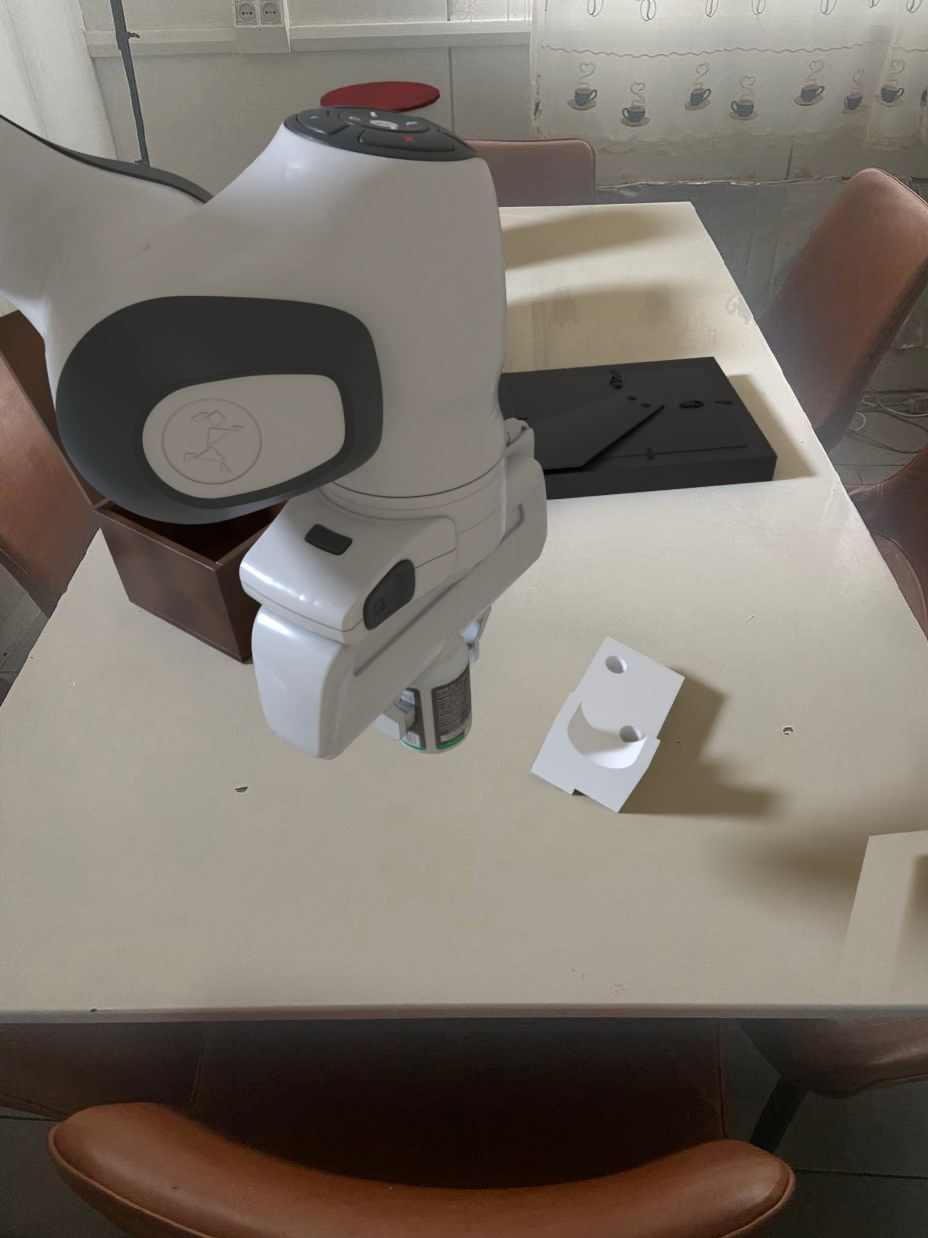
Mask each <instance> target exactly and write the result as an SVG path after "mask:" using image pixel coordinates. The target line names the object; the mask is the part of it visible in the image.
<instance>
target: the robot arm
mask: <svg viewBox="0 0 928 1238" xmlns="http://www.w3.org/2000/svg"><path fill="white" fill-rule="evenodd" d="M492 176H493V175H492V174H491V171H490V168H489V165H488V164H487V161H485V159H484V158H483V157H482V156H481V155H480V154H479V152H478V150H477V149H475V148H474V147H473V146H472V145H471V144H470V143H468V141H465V140H464V139H463V138H462V137H460V136H459V135H458V134H456V133H454V132H453V131H451V130H449V129H448V128H446V127H445V126H442V125H440V124H439V123H438V124H436V123H434V122H432V121H430V120H427V119H425V118H423V117H415V116H411V115H407V114H403V113H402V112H399V111H393V110H386V109H379V108H371V107H364V106H345V105H338V106H320V107H318V108H310V109H309V108H308V109H303V110H301V111H300V112H297V113H294V114H290V115H289V116H287V117H286V118H285V119H283V121H282V122H281V123H280V124H279V127H278V129H277V131H276V132H275V134H274V136H273V138H272V140H270V141H269V144H268V145H267V146H266V147H265V148H264V150H263V151H262V152H260V154H259V155H258V156H257V157H256V159H254V161H252V163H251V164H249V165H248V166H247V167H246V168H245V169H244V170H243V171H242V172H241V173H240V174H239V175H237V177H235V179H234V180H233V181H231V182H230V183H229V184H228V185H227V186H226V187H224V188H223V189H222V190H221V191H220V192H219V193H217V194H216V195H215V196H214V195H213V194H212V193H210V192H209V191H208V190H206V189H205V188H203V187H202V186H200V185H199V184H197V183H195V182H194V181H191V180H190V179H187V178H186V177H183V176H181V175H178V174H176V173H174V172H171V171H168V170H164V169H161V168H159V167H158V168H157V167H153V166H149V165H145V164H140V163H134V162H129V161H123V160H119V159H112V158H106V157H102V156H97V155H93V154H88V153H85V152H81V151H78V150H74V149H70V148H68V147H65V146H62V145H59V144H57V143H55V142H53V141H51V140H48V139H46V138H44V137H41V136H40V135H38V134H36V133H34V132H32V131H30V130H28V129H27V128H25V127H23V126H21V125H19V124H18V123H16V122H14V121H13V120H11V119H9V118H8V117H6V116H4V115H2V114H1V113H0V295H1V296H3V297H4V298H5V299H6V300H8V301H9V302H10V303H12V305H13V306H15V307H16V308H17V310H18V309H19V310H20V311H21V312H22V313H23V314H24V315H25V316H26V317H27V319H28V320H29V321H30V322H31V323H32V324H33V326H34V327H35V328H36V329H37V330H38V332H39V333H40V335H41V336H42V337H43V339H44V342H45V356H46V364H47V372H48V377H49V383H50V388H51V393H52V398H53V403H54V408H55V412H56V420H57V426H58V430H59V434H60V437H61V440H62V443H63V445H64V447H65V450H66V452H67V454H68V456H69V457H70V459H71V461H72V462H73V464H74V465H75V467H76V468H77V470H78V471H79V472H80V474H81V475H82V476H83V477H84V478H85V479H86V480H87V481H88V482H89V483H90V484H91V485H92V486H93V487H94V488H95V489H96V490H97V491H99V492H100V493H101V494H102V495H104V496H105V497H106V499H108V501H110V500H111V501H112V502H114V503H116V504H117V505H119V506H121V507H123V508H125V509H127V510H129V511H131V512H133V513H136V514H138V515H141V516H144V517H147V518H151V519H154V520H159V521H164V522H169V523H178V524H205V523H214V522H220V521H224V520H228V519H232V518H236V517H239V516H242V515H245V514H248V513H251V512H254V511H257V510H260V509H263V508H266V507H269V506H272V505H275V504H277V503H280V502H283V501H285V500H288V499H289V501H288V502H287V504H286V505H285V506H284V508H283V509H282V510H281V512H280V513H279V515H278V516H277V517H276V518H275V520H274V521H273V522H272V523H271V525H270V526H269V527H268V528H267V530H266V531H265V532H264V533H263V534H262V536H261V537H260V538H259V539H258V540H257V542H256V543H255V544H254V545H253V546H252V547H251V549H250V550H249V551H248V552H247V554H246V555H245V557H244V558H243V560H242V562H241V565H240V570H239V574H240V580H241V583H242V586H243V589H244V591H245V592H246V593H247V594H248V595H249V596H251V597H252V598H254V599H255V600H256V601H258V602H259V603H261V604H262V606H261V607H260V609H259V611H258V613H257V616H256V618H255V622H254V625H253V630H252V655H253V656H252V661H253V669H254V674H255V679H256V680H255V681H256V686H257V689H258V695H259V698H260V702H261V707H262V711H263V714H264V717H265V720H266V723H267V725H268V726H269V728H270V730H271V731H272V732H273V733H274V734H275V735H276V736H277V737H278V738H279V739H281V740H282V741H283V742H285V743H287V744H288V745H290V746H291V747H293V748H295V749H296V750H297V751H300V752H302V753H303V754H305V755H307V756H310V757H312V758H315V759H319V760H323V761H333V760H335V759H337V758H338V757H339V756H341V755H342V753H344V751H346V750H347V748H349V746H350V745H351V744H352V743H353V742H354V741H356V739H358V738H359V737H360V736H361V735H362V733H364V732H365V731H366V730H367V728H369V727H370V726H371V725H372V724H373V723H374V722H375V726H376V729H378V730H379V731H380V732H381V733H382V734H383V735H386V736H388V737H389V738H391V739H393V740H394V741H399V742H400V740H401V739H402V738H403V737H404V735H405V734H406V733H407V732H408V731H409V730H410V729H411V728H412V727H413V726H414V725H415V724H416V723H417V720H416V718H415V715H416V710H415V705H413V704H411V703H410V702H408V701H405V700H400V699H401V697H402V695H401V694H402V693H403V692H404V691H405V690H406V689H407V688H408V687H409V686H410V685H411V684H412V683H413V682H414V681H415V680H416V679H417V678H418V677H419V676H420V675H421V674H422V673H423V672H424V671H425V670H426V669H427V668H428V667H429V666H430V665H431V664H432V663H433V662H434V661H435V660H436V659H437V658H438V657H439V656H440V655H441V652H442V650H443V648H444V644H445V642H446V641H447V639H448V638H449V637H450V636H451V635H452V634H453V633H454V632H456V631H457V630H459V632H460V634H461V636H462V637H463V638H464V640H465V641H466V643H467V646H468V650H469V656H470V657H469V664H470V668H471V667H472V666H473V665H474V664H475V663H477V661H478V660H480V640H481V639H482V636H483V634H484V630H485V627H486V625H487V622H488V620H489V617H490V614H491V612H492V605H493V604H494V603H495V602H496V601H497V600H498V599H499V598H500V597H501V596H502V595H503V594H504V593H505V592H506V591H507V590H508V589H509V588H510V587H511V586H512V585H514V583H515V582H516V581H517V580H518V579H519V578H521V577H522V576H523V574H524V573H525V572H527V571H528V570H529V569H530V567H532V566H533V565H534V564H535V563H536V562H537V561H538V559H539V558H540V557H541V555H542V552H543V550H544V547H545V544H546V541H547V538H548V502H547V500H546V488H545V479H544V474H543V470H542V467H541V465H540V464H539V462H538V461H536V460H535V459H534V432H533V429H532V428H530V427H529V425H528V424H527V423H526V422H525V421H522V420H518V419H516V418H510V419H507V420H505V421H504V418H503V415H502V413H501V410H500V406H499V402H498V383H499V379H500V375H501V373H503V369H504V366H505V362H506V359H507V354H508V353H507V352H508V351H507V349H508V309H507V308H508V307H507V306H508V305H507V303H508V302H507V282H506V281H507V280H506V264H505V250H504V239H503V229H502V221H501V215H500V208H499V201H498V197H497V193H496V188H495V184H494V181H493V177H492Z"/></svg>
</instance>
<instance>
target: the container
mask: <svg viewBox="0 0 928 1238" xmlns="http://www.w3.org/2000/svg"><path fill="white" fill-rule="evenodd" d="M440 98H441V93H440V90H439V89H438V88H437V87H435V86H433V85H431V84H426V83H423V82H415V81H406V80H405V81H403V80H401V81H400V80H399V81H398V80H397V81H396V80H395V81H394V80H388V81H386V80H385V81H373V82H372V81H370V82H363V83H357V84H351V85H347V86H341V87H338V88H335V89H333V90H330V91H328V92H326V93H324V94H323V95H322V96H321V97H320V101H319V105H320V107H322V106H338V105H345V106H364V107H371V108H379V109H386V110H393V111H399V112H402V113H403V114H407V115H411V116H415V117H423V118H425V119H427V120H430V121H432V122H434V123H436V124H438V125H439V114H438V113H439V111H438V100H439V99H440Z"/></svg>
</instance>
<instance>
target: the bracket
mask: <svg viewBox="0 0 928 1238" xmlns="http://www.w3.org/2000/svg"><path fill="white" fill-rule="evenodd" d="M604 638H605V639H604V640H603V642H602V644H601V645H600V647H599V649H598V650H597V652H596V654H595V655H594V657H593V659H592V661H590V664H589V666H588V667H587V669H586V670H585V672H584V674H583V676H582V677H581V680H580V681H579V683H578V685H577V686H576V689H574V691H570V693H569V695H568V697H567V698H566V700H565V701H564V703H563V704H562V706H561V708H560V710H559V712H558V714H557V715H556V717H555V719H554V721H553V722H552V725H551V727H550V730H549V731H548V734H547V736H546V738H545V740H544V742H543V743H542V746H541V748H540V750H539V752H538V754H537V756H536V758H535V761H534V763H533V765H532V767H531V769H530V772H531V773H532V774H534V775H536V776H537V777H539V778H541V779H543V780H545V781H546V782H548V783H550V784H551V785H553V786H555V787H557V788H558V789H560V790H562V791H564V792H566V793H568V794H569V795H571V796H572V795H573V793H574V791H575V790H577V791H578V792H580V793H581V794H584V795H585V796H587V797H588V798H591V799H592V800H594V801H596V802H597V803H599V804H601V805H602V806H605V807H606V808H608V809H610V810H612V812H615V813H616V814H617V813H619V811H620V810H621V808H622V807H623V806H624V804H625V802H626V801H627V800H628V798H629V797H630V795H631V793H632V792H633V791H634V790H635V788H636V787H637V785H638V783H639V782H640V780H641V779H642V778H643V776H644V774H645V773H646V771H647V770H648V768H649V767H650V765H651V762H652V760H653V758H654V756H655V754H656V751H657V750H658V748H659V745H660V743H661V740H660V739H658V738H657V737H658V736H659V733H660V731H661V729H662V727H663V725H664V722H665V721H666V719H667V717H668V714H669V712H670V710H671V708H672V706H673V704H674V701H675V700H676V697H677V695H678V693H679V691H680V689H681V686H682V685H683V682H684V680H685V678H686V677H685V676H683V675H682V674H680V673H678V672H676V671H674V670H672V669H670V668H668V667H667V666H665V665H663V664H661V663H659V662H657V661H655V660H653V659H651V658H650V657H648V656H646V655H644V654H642V653H640V652H638V651H636V650H635V649H633V648H631V647H629V646H627V645H625V644H623V643H621V642H619V641H617V640H616V639H614V638H612V637H610V636H608V635H606V637H604Z"/></svg>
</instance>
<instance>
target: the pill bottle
mask: <svg viewBox="0 0 928 1238" xmlns="http://www.w3.org/2000/svg"><path fill="white" fill-rule="evenodd" d="M469 657H470V656H469V650H468V646H467V643H466V641H465V640H464V638H463V637H462V636H461V634H460V632H459V630H457V631H456V632H454V633H453V634H452V635H451V636H450V637H449V638H448V639H447V641H446V642H445V644H444V648H443V650H442V652H441V655H440V656H439V657H438V658H437V659H436V660H435V661H434V662H433V663H432V664H431V665H430V666H429V667H428V668H427V669H426V670H425V671H424V672H423V673H422V674H421V675H420V676H419V677H418V678H417V679H416V680H415V681H414V682H413V683H412V684H411V685H410V686H409V687H408V688H407V689H406V690H405V691H404V692H403V693H402V694H401V695H402V697H401V699H400V700H405V701H408V702H410V703H411V704H413V705H415V710H416V715H415V718H416V720H417V723H416V724H415V725H414V726H413V727H412V728H411V729H410V730H409V731H408V732H407V733H406V734H405V735H404V737H403V738H402V739H401V740H399V742H400V743H401V744H402V745H403V746H405V747H406V748H407V749H409V750H411V751H413V752H416V753H421V754H425V755H439V754H442V753H443V754H444V753H446V752H449V751H452V750H454V749H456V748H457V747H458V746H460V745H461V744H462V743H463V742H464V741H465V740H466V739H467V737H468V735H469V734H470V732H471V729H472V727H473V726H472V725H473V709H472V687H471V667H470V664H469Z"/></svg>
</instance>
